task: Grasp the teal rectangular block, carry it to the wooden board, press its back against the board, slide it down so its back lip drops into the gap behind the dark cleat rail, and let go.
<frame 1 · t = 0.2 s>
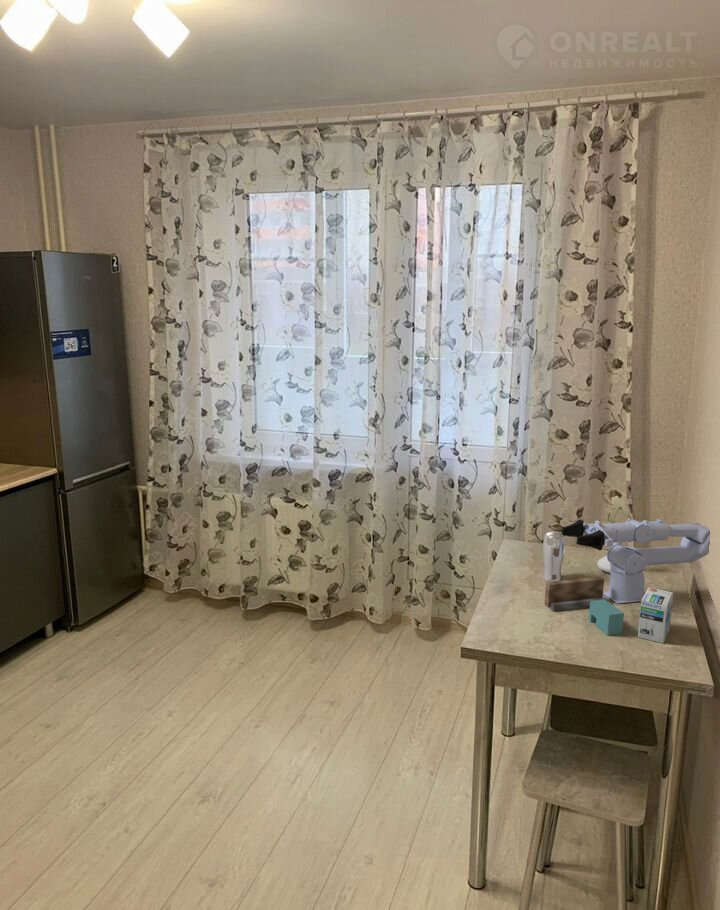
hand: (569, 536, 198), 21 cm above the table, tool horizontal, fingers open, 7 cm apart
teal rectangular block: (604, 627, 189), on the table
beer glass: (551, 579, 222), on the table
light bulb box: (653, 633, 186), on the table
flower in vase: (613, 570, 229), on the table
wooden board: (573, 602, 204), on the table
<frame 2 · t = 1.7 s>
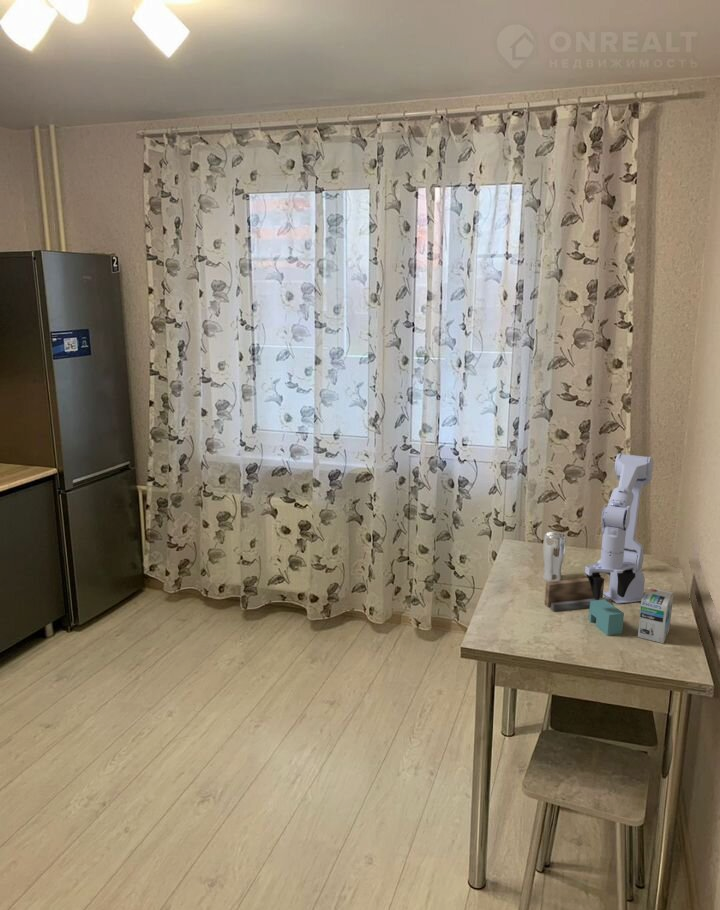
hand: (608, 597, 187), 9 cm above the table, tool pointing down, fingers open, 7 cm apart
nothing on the table moved.
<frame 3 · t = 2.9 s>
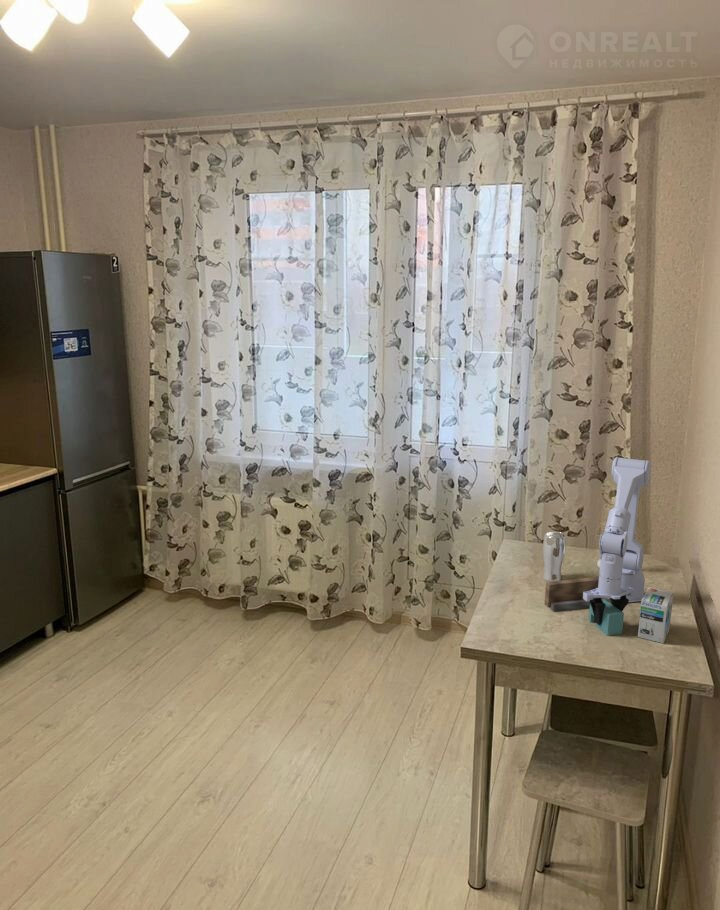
hand: (606, 622, 188), 2 cm above the table, tool pointing down, fingers closed on teal rectangular block, 4 cm apart
teal rectangular block: (604, 627, 189), on the table, touching gripper
everything else where it was.
when the fingers open (2 cm above the table, at t = 7.4 s): teal rectangular block stays where it is, on the table.
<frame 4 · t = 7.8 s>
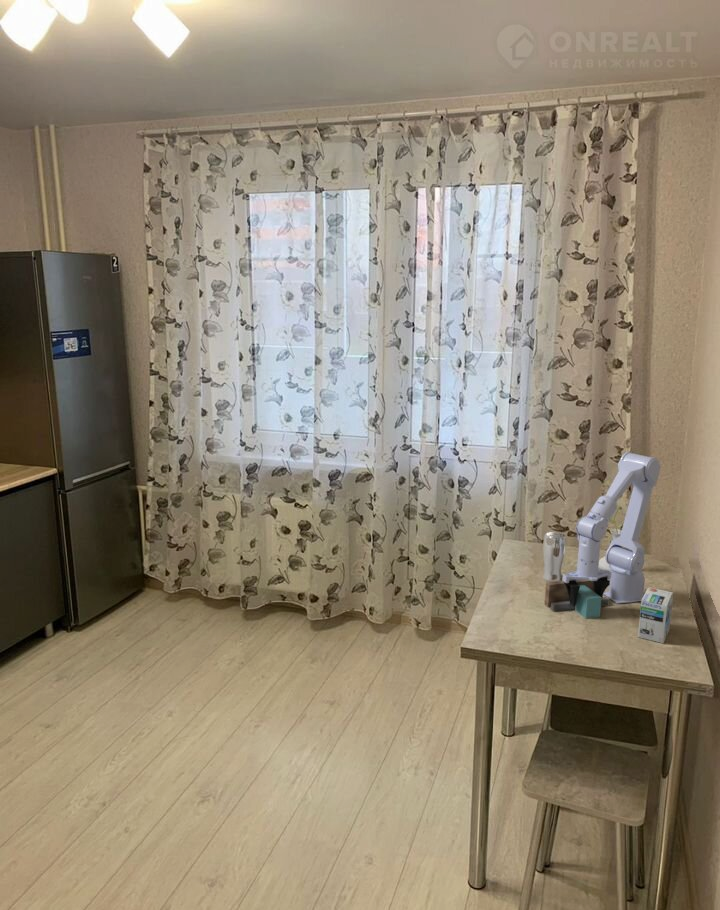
hand: (584, 603, 198), 2 cm above the table, tool pointing down, fingers open, 7 cm apart
teal rectangular block: (583, 610, 199), on the table
everything else where it was.
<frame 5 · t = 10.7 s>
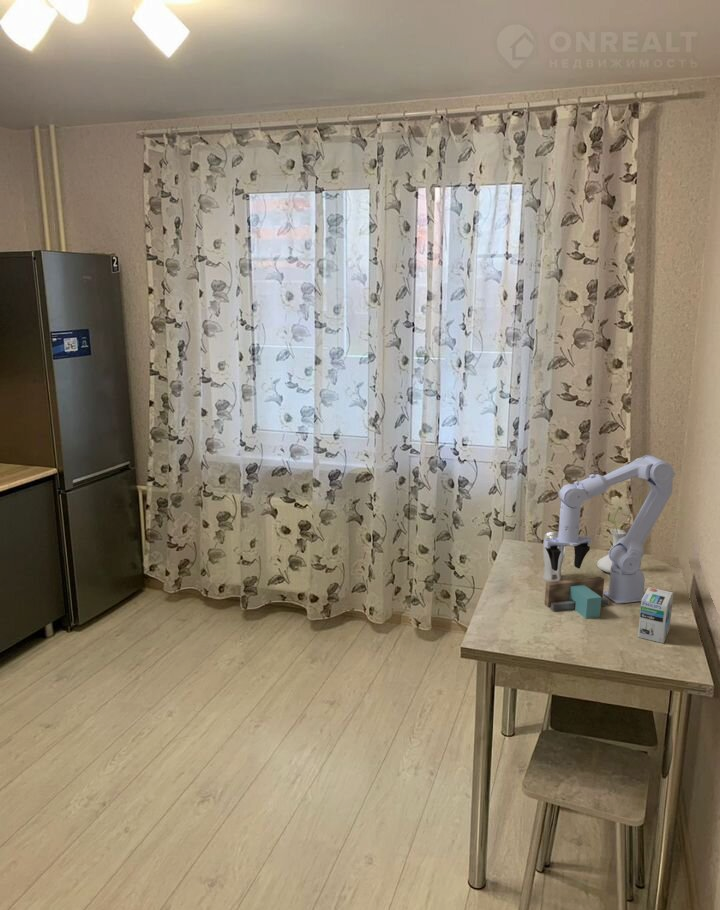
hand: (565, 568, 205), 9 cm above the table, tool pointing down, fingers open, 7 cm apart
nothing on the table moved.
at the end: teal rectangular block inside the target area on the table beside the wooden board (0.1 cm from its centre), on the table; teal rectangular block tilted 0°; the gripper is holding nothing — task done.
